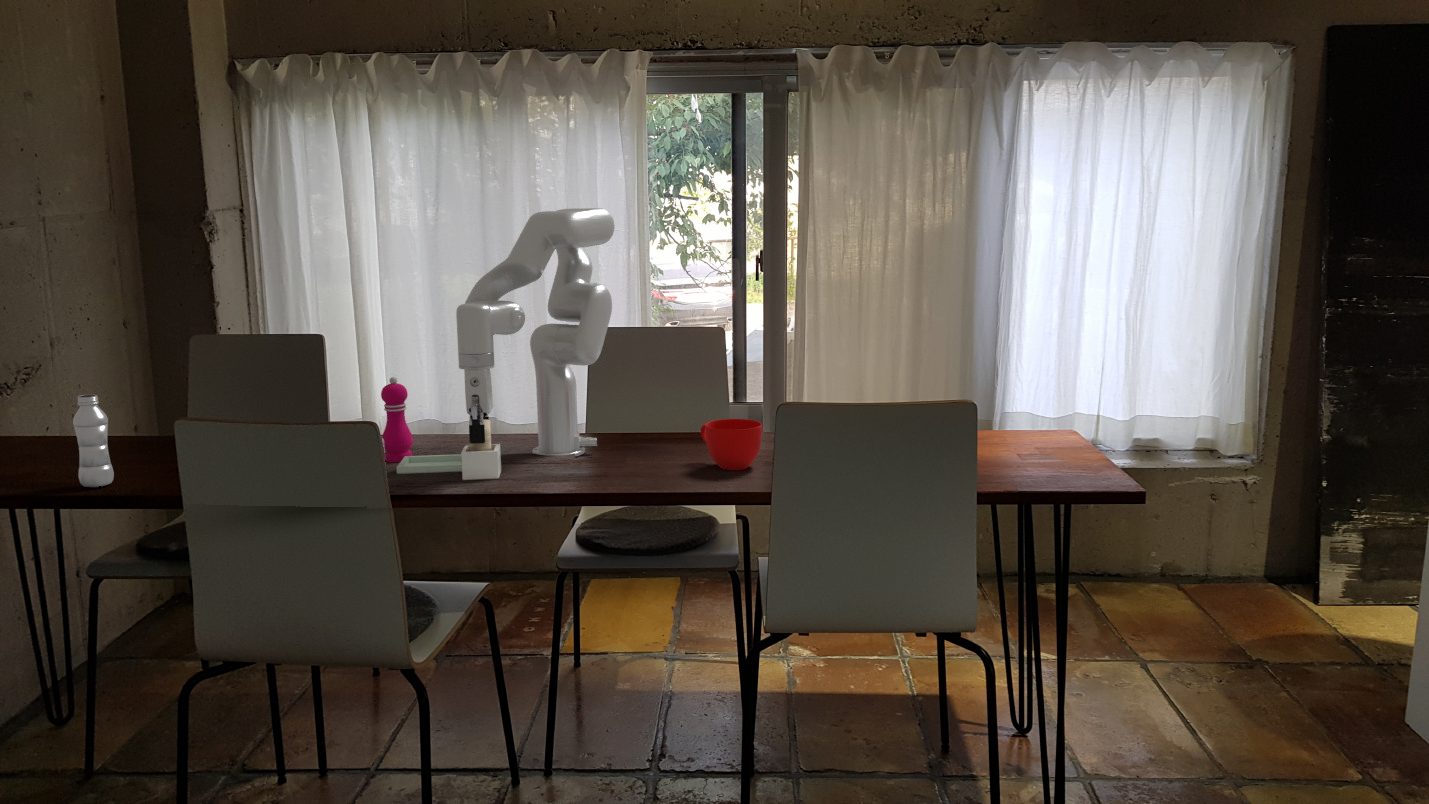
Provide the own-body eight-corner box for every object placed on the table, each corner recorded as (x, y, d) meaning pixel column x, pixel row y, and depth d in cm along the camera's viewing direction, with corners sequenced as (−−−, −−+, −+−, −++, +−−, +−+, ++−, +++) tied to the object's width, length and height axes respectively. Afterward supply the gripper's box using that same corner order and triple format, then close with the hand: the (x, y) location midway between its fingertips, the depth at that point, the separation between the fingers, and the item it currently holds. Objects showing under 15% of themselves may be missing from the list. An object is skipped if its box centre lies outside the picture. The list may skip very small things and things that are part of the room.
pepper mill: (405, 463, 246) (399, 379, 243) (377, 462, 248) (371, 378, 244) (419, 456, 253) (414, 375, 250) (392, 455, 255) (386, 374, 251)
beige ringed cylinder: (493, 471, 233) (491, 419, 231) (491, 476, 228) (489, 422, 226) (473, 472, 232) (470, 419, 230) (470, 477, 228) (467, 423, 226)
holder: (501, 474, 235) (500, 443, 234) (498, 482, 227) (497, 451, 226) (466, 475, 234) (465, 445, 233) (462, 484, 226) (461, 452, 225)
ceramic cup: (721, 455, 251) (721, 414, 249) (774, 466, 239) (774, 423, 238) (682, 464, 242) (681, 422, 240) (734, 476, 230) (734, 432, 229)
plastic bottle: (88, 483, 231) (78, 393, 227) (120, 482, 231) (110, 393, 228) (73, 490, 225) (62, 398, 221) (106, 489, 225) (96, 398, 222)
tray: (475, 464, 245) (475, 453, 244) (470, 475, 234) (470, 464, 234) (405, 466, 243) (405, 456, 243) (397, 478, 232) (396, 467, 232)
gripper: (490, 365, 218) (493, 446, 221) (497, 355, 235) (500, 430, 238) (453, 366, 217) (457, 447, 220) (463, 356, 234) (466, 431, 237)
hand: (479, 438), depth 229 cm, fingers open, 9 cm apart
